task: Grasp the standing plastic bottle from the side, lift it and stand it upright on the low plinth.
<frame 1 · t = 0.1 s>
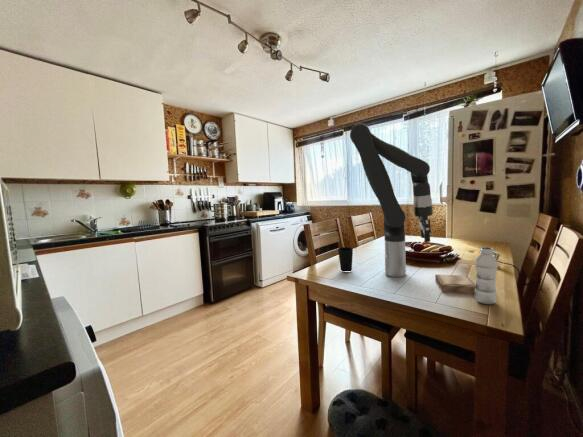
hand: (425, 239, 118), 17 cm above the table, tool pointing down, fingers open, 8 cm apart
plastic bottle: (485, 302, 91), on the table
plinth: (454, 287, 105), on the table
cup: (346, 271, 133), on the table
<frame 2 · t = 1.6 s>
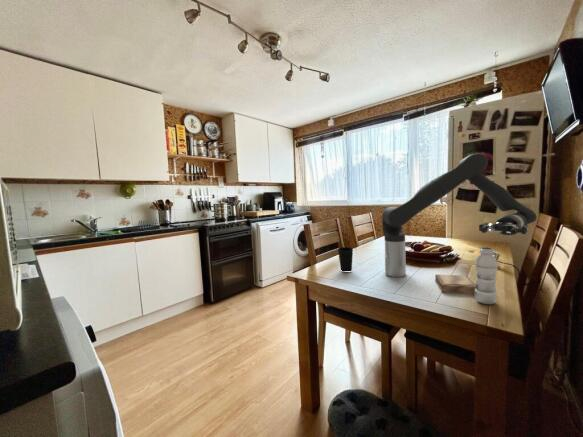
hand: (497, 231, 94), 24 cm above the table, tool horizontal, fingers open, 8 cm apart
nothing on the table moved.
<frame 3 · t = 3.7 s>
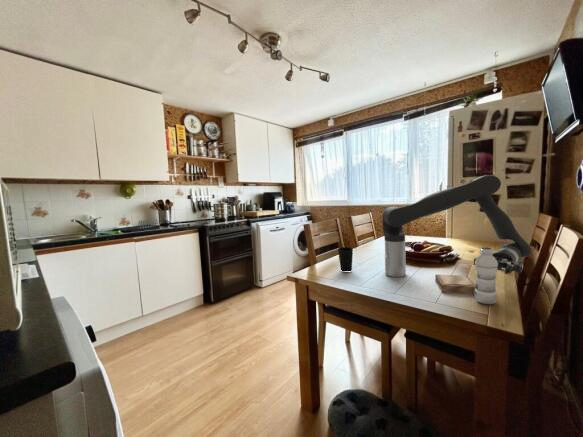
hand: (491, 268, 93), 11 cm above the table, tool horizontal, fingers open, 8 cm apart
nothing on the table moved.
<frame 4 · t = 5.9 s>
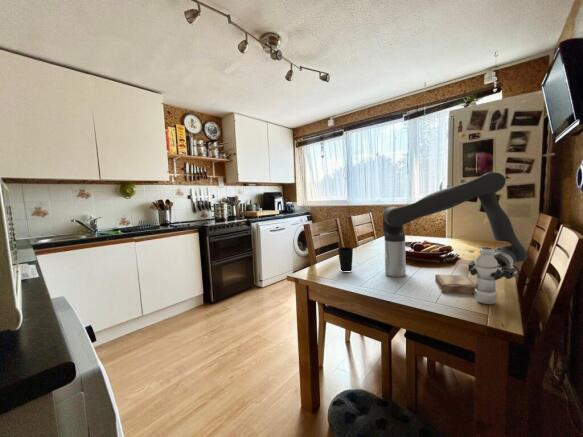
hand: (483, 274, 88), 11 cm above the table, tool horizontal, fingers closed on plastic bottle, 6 cm apart
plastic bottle: (485, 302, 91), on the table, touching gripper
everything else where it was.
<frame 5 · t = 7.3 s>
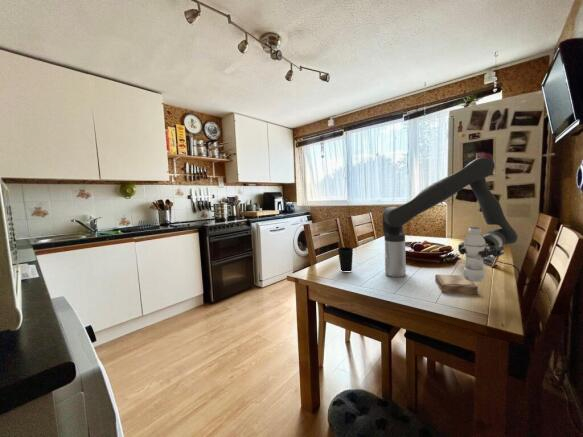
hand: (471, 253, 92), 18 cm above the table, tool horizontal, fingers closed on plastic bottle, 6 cm apart
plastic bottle: (473, 280, 94), point 6 cm above the table, touching gripper
everything else where it was.
when the fingers open (15 cm above the table, at t = 8.9 s): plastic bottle stays where it is, resting on plinth.
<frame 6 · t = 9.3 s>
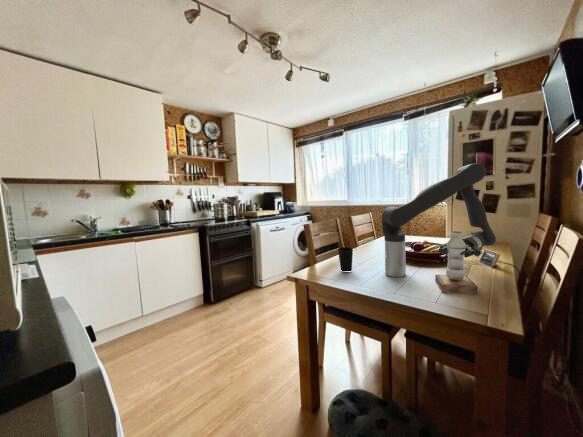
hand: (453, 253, 102), 15 cm above the table, tool horizontal, fingers open, 8 cm apart
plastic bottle: (455, 279, 105), point 3 cm above the table, touching plinth
everything else where it was.
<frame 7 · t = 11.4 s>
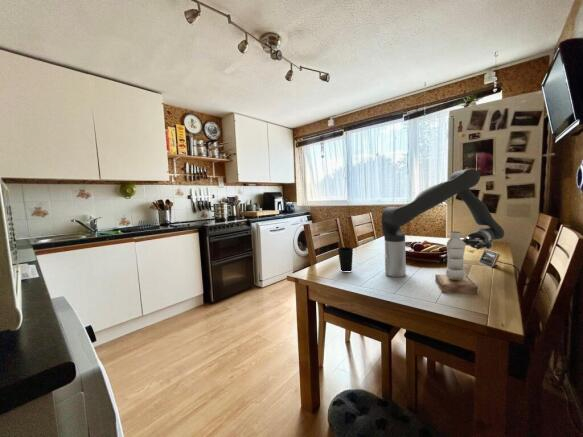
hand: (465, 245, 109), 16 cm above the table, tool horizontal, fingers open, 8 cm apart
nothing on the table moved.
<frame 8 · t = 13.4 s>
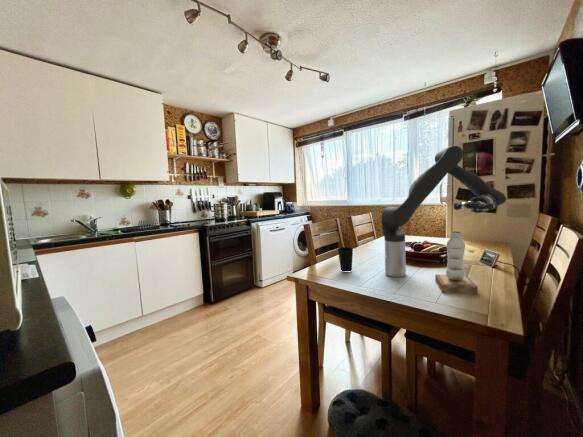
hand: (467, 207, 108), 32 cm above the table, tool horizontal, fingers open, 8 cm apart
nothing on the table moved.
at the end: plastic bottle inside the target area on the plinth (0.2 cm from its centre), point 3.1 cm above the plinth's base; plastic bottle tilted 0°; the gripper is holding nothing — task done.
